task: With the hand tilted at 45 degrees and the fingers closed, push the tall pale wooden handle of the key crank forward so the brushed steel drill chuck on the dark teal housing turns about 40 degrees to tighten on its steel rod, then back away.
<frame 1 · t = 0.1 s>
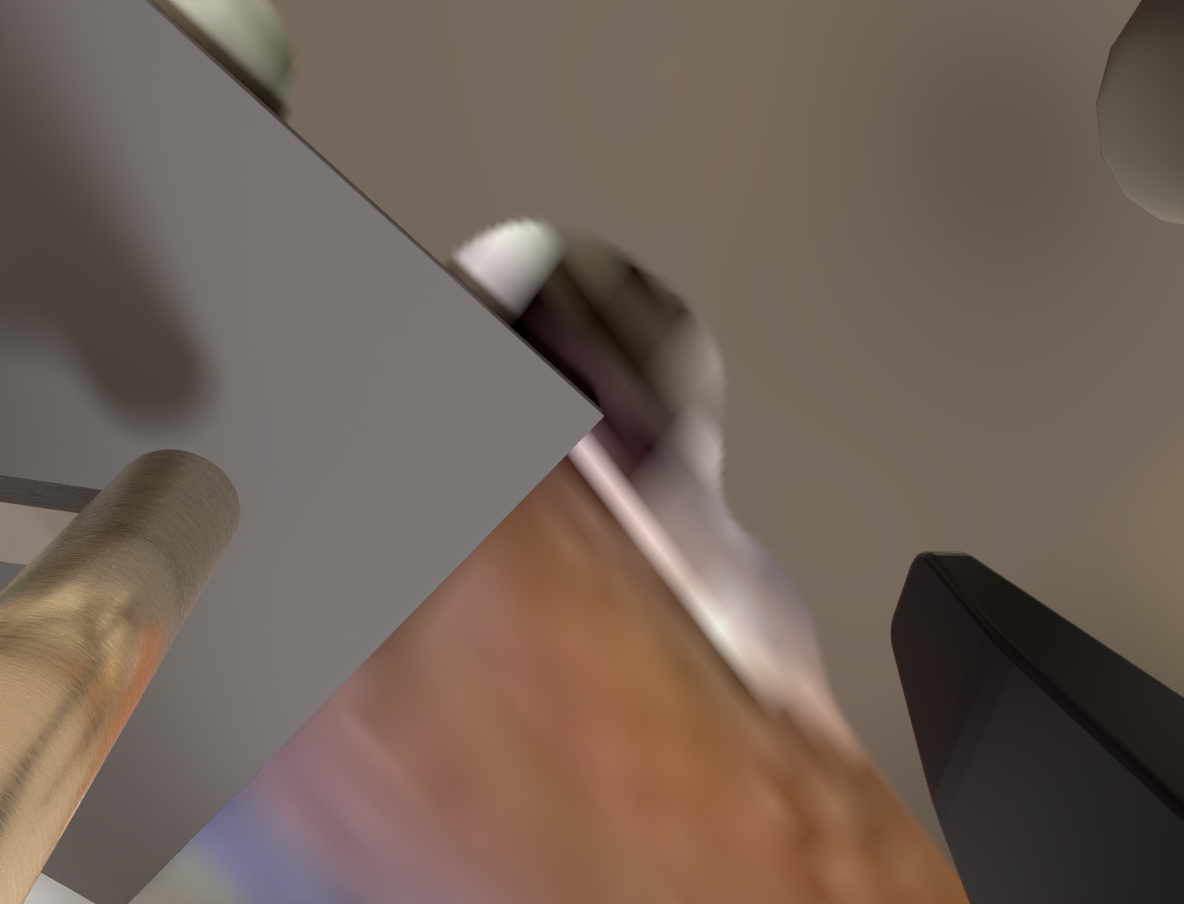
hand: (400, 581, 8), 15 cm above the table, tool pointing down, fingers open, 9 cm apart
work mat: (24, 435, 23), on the table
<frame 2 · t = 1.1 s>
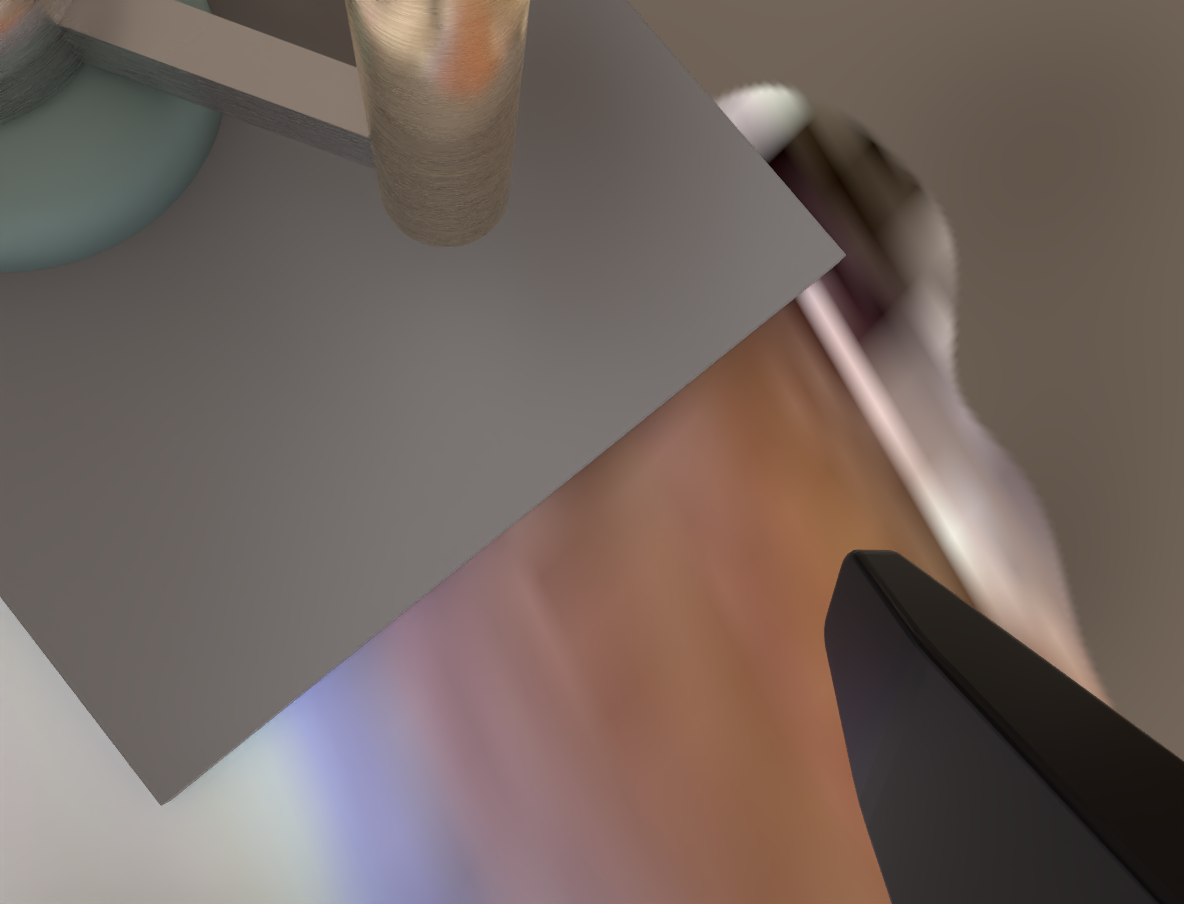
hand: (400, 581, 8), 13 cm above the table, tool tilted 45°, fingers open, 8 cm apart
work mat: (271, 186, 23), on the table
drill housing: (24, 92, 22), resting on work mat
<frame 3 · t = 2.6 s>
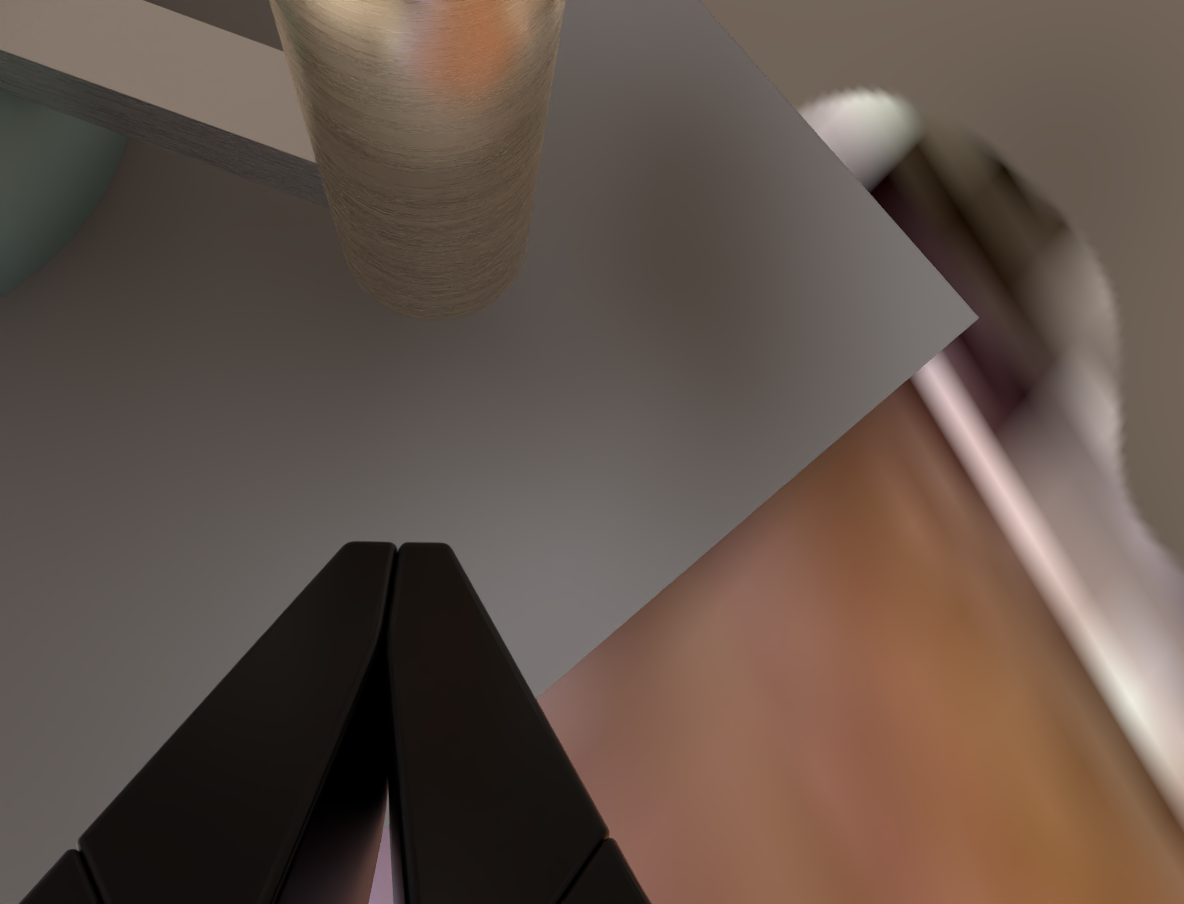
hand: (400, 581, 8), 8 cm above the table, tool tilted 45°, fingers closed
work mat: (199, 227, 17), on the table
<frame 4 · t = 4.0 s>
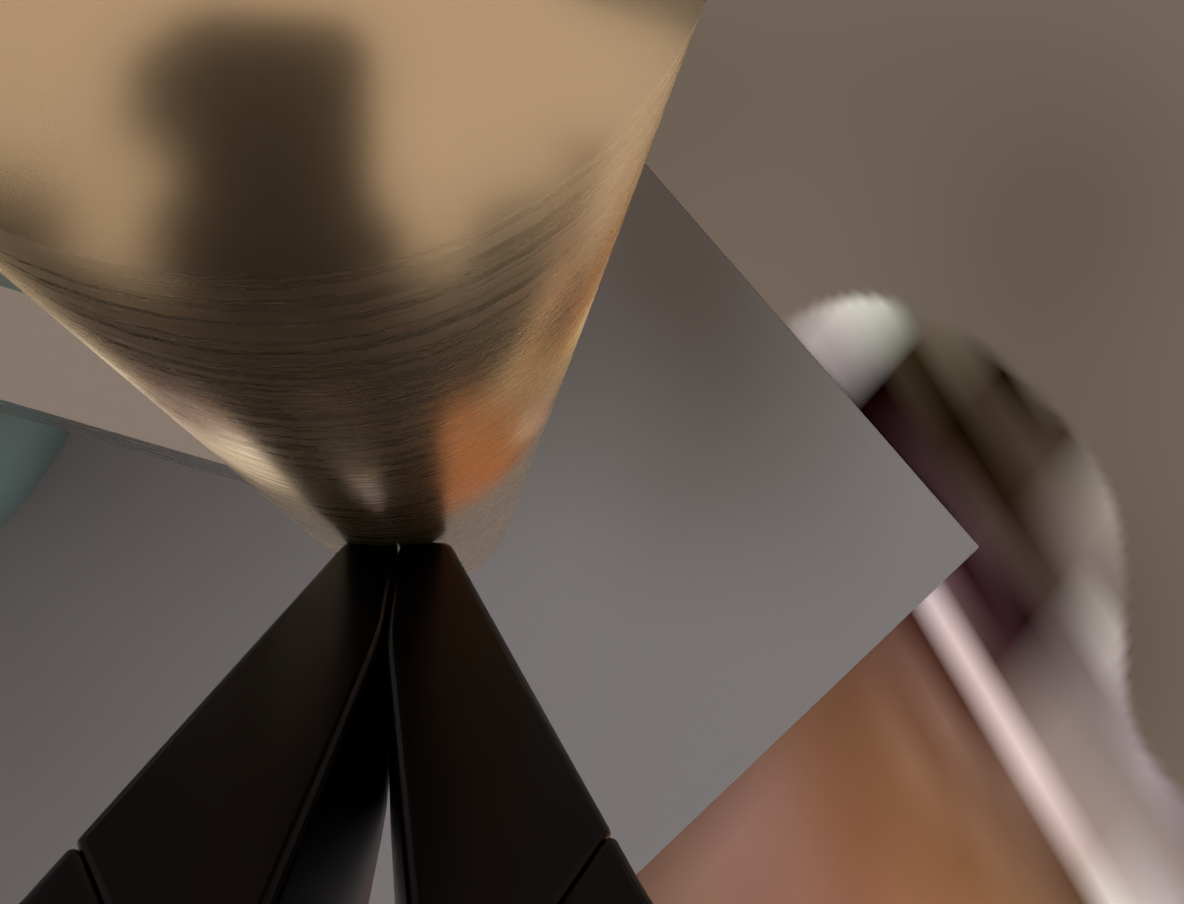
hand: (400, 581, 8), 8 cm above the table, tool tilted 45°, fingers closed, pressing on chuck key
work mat: (164, 470, 16), on the table
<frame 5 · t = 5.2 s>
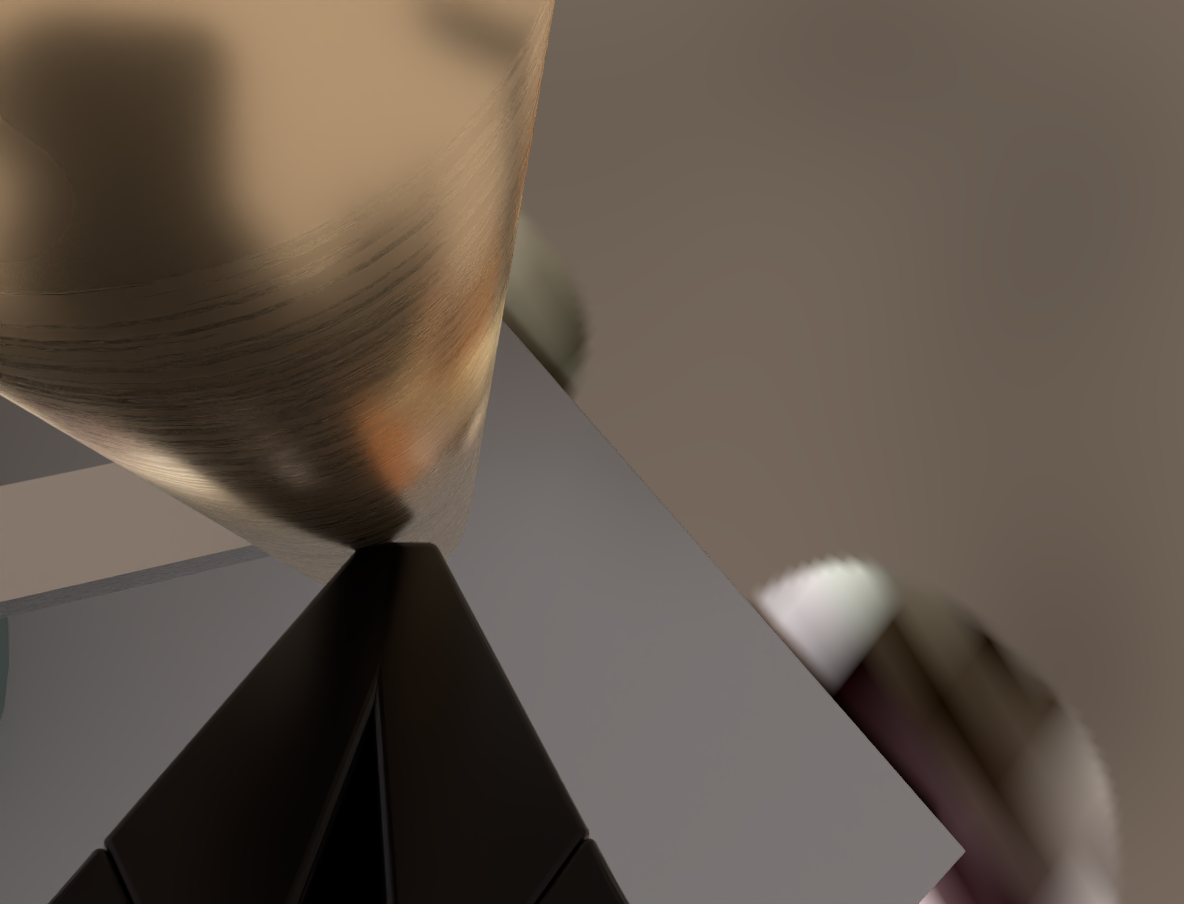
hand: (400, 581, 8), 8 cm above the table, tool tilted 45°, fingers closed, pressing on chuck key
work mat: (87, 808, 15), on the table
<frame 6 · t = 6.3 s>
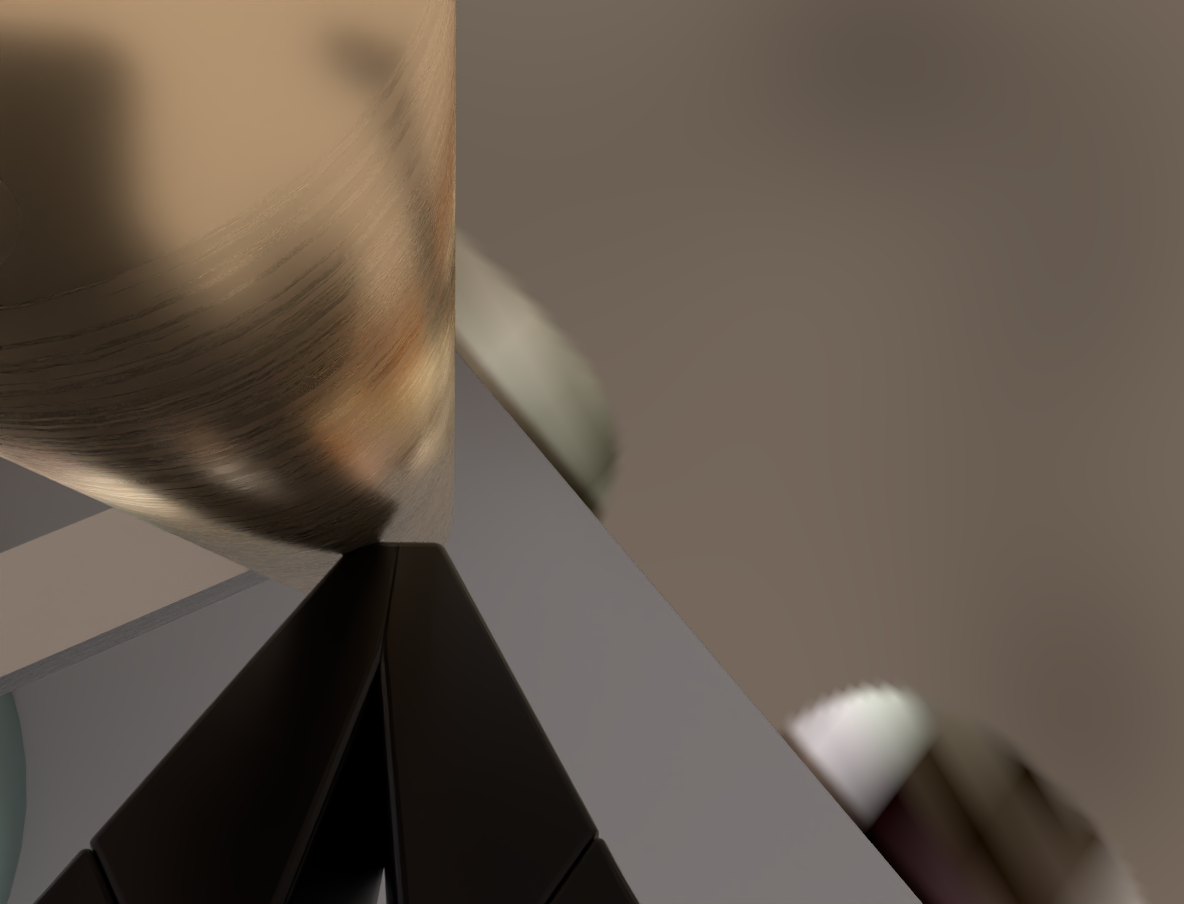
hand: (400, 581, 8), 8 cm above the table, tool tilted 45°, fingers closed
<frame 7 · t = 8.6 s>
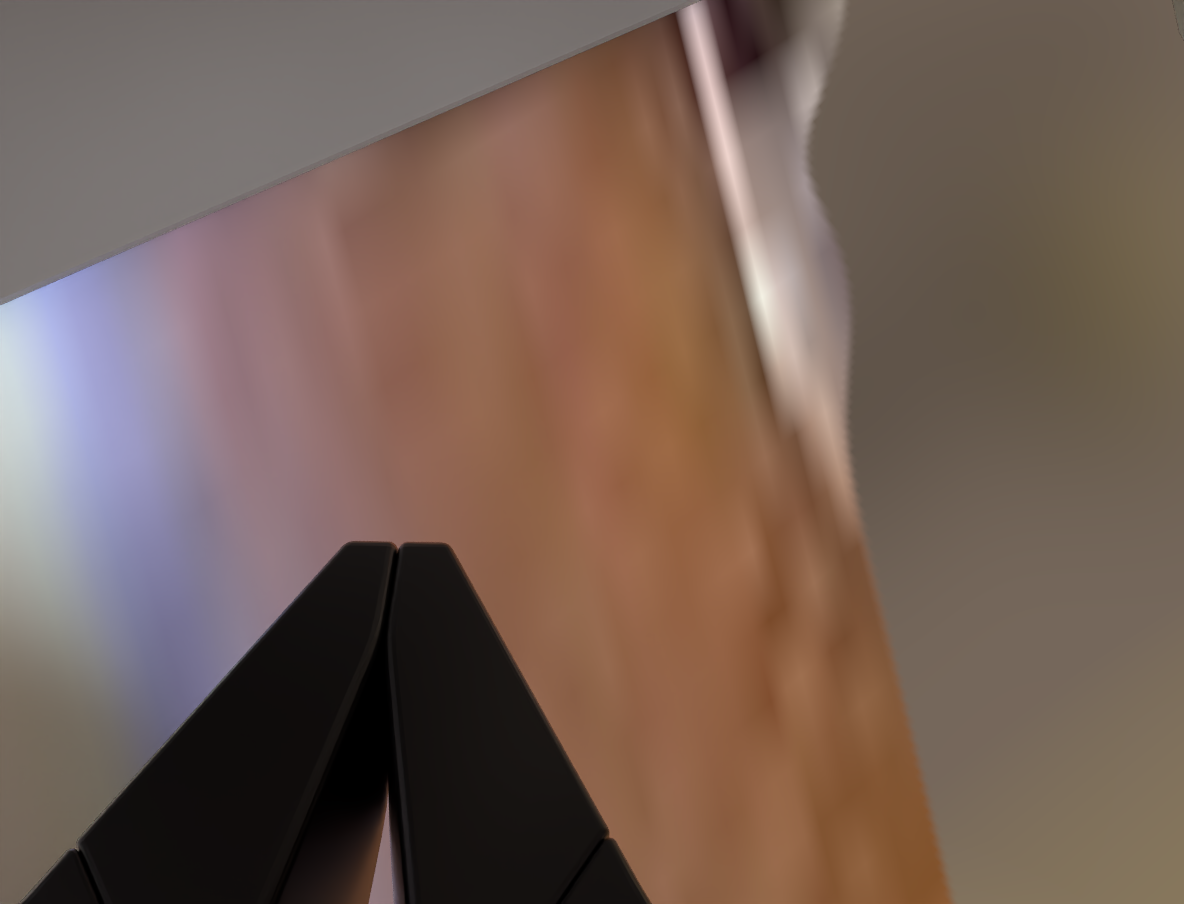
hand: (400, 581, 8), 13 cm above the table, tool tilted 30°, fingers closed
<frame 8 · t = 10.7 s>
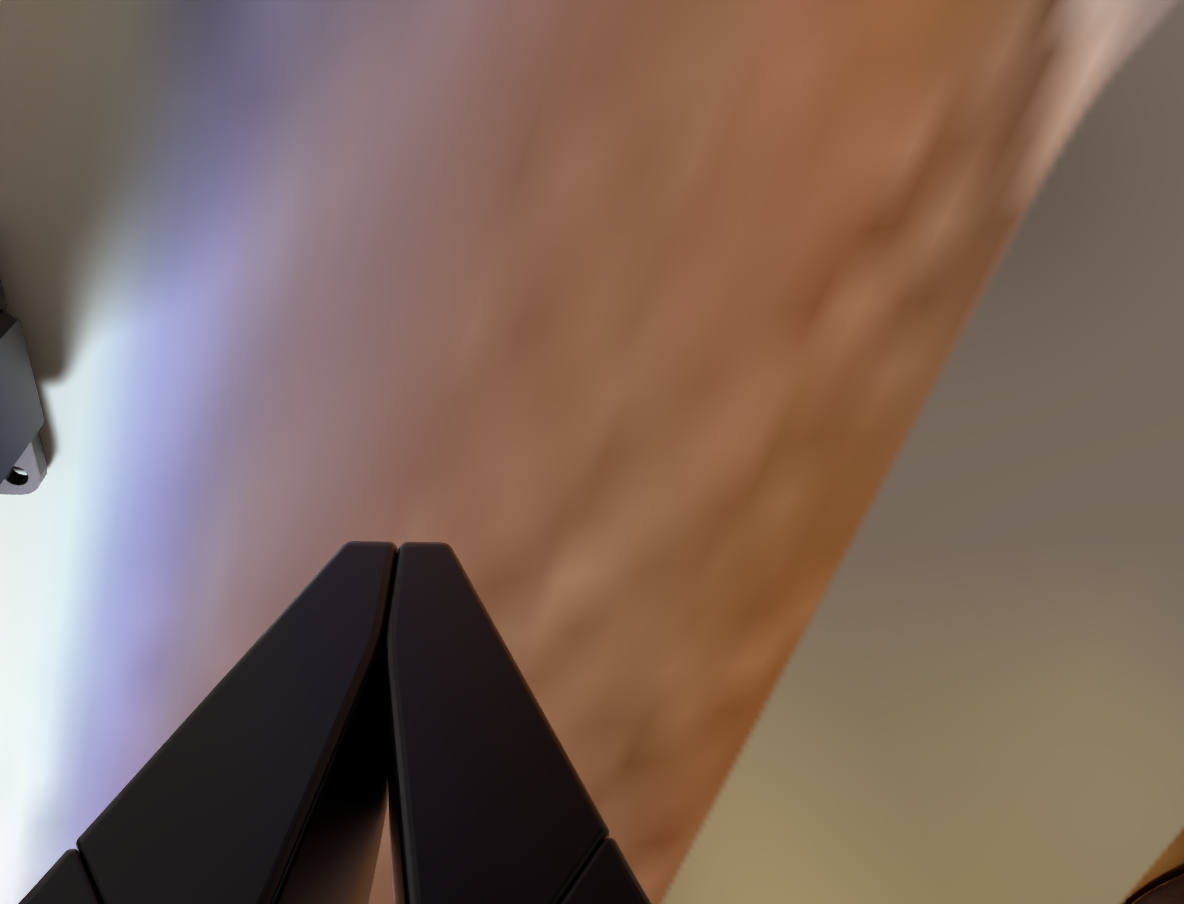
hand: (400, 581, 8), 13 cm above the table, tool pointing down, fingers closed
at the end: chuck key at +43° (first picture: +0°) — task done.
